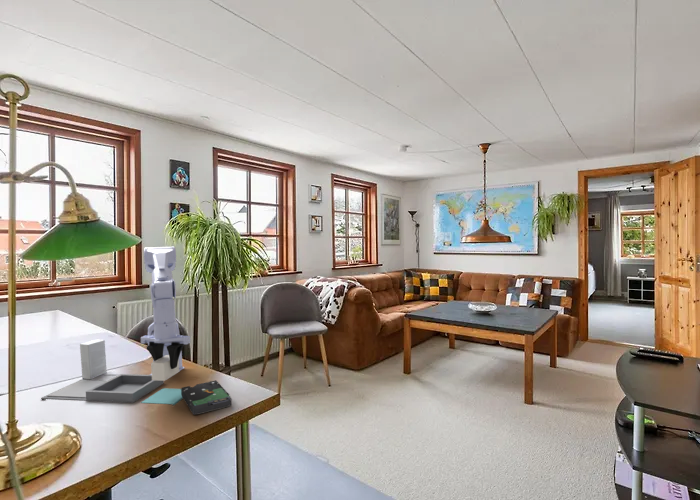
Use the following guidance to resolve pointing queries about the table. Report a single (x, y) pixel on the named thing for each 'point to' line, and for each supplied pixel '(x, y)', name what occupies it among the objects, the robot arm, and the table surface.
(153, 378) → the block
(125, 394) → the case
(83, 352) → the skincare box
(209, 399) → the disk drive
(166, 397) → the teal pad
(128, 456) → the table surface
